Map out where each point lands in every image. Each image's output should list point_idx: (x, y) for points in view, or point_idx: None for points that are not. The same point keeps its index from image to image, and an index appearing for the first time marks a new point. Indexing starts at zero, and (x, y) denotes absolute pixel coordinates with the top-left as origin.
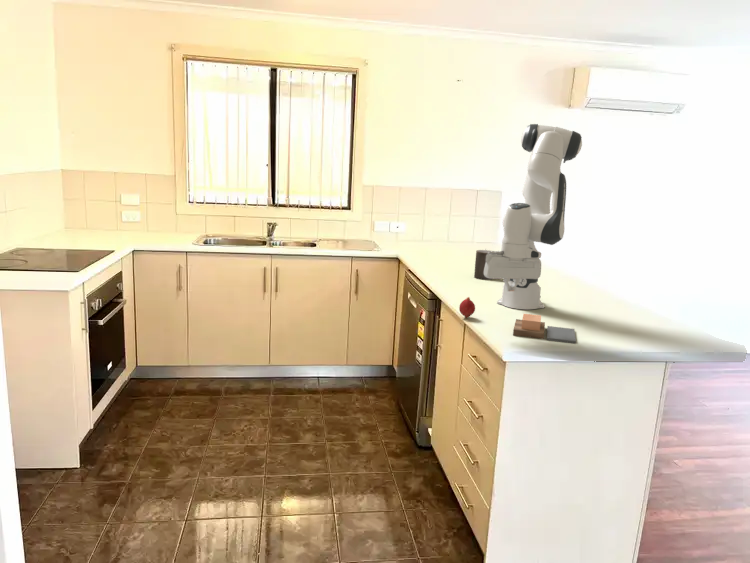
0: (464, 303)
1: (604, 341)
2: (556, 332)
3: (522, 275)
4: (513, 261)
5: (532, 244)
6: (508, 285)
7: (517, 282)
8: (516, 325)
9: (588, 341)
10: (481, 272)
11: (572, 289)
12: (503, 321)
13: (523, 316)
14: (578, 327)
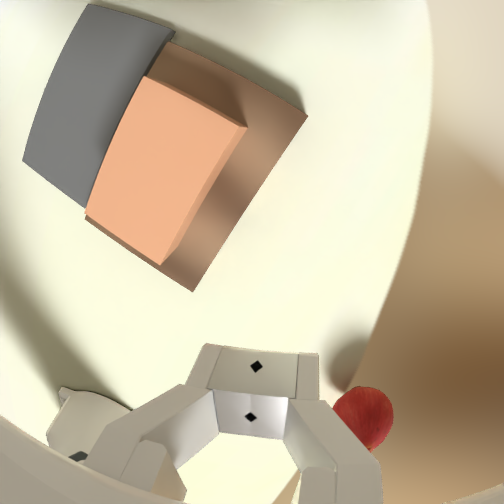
0: (388, 427)
1: (11, 51)
2: (89, 109)
3: (10, 484)
4: None
5: None
6: (318, 412)
7: (141, 427)
8: (246, 188)
9: (44, 40)
10: None
11: (20, 427)
12: (234, 329)
13: (188, 205)
14: (9, 201)
